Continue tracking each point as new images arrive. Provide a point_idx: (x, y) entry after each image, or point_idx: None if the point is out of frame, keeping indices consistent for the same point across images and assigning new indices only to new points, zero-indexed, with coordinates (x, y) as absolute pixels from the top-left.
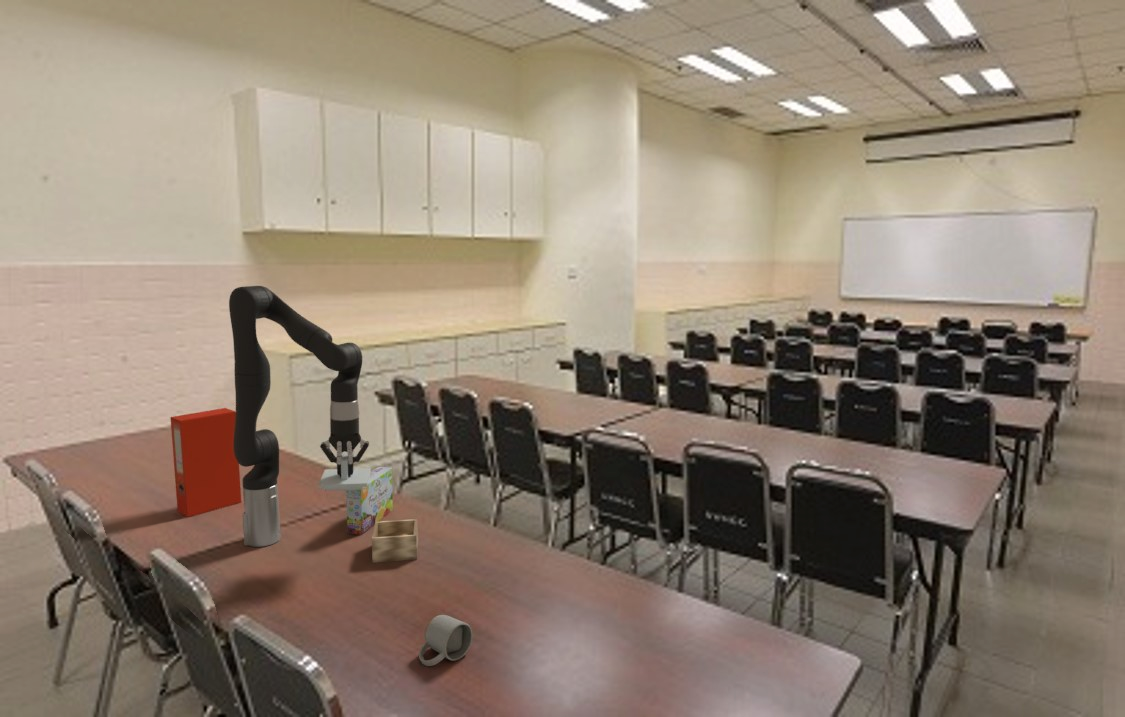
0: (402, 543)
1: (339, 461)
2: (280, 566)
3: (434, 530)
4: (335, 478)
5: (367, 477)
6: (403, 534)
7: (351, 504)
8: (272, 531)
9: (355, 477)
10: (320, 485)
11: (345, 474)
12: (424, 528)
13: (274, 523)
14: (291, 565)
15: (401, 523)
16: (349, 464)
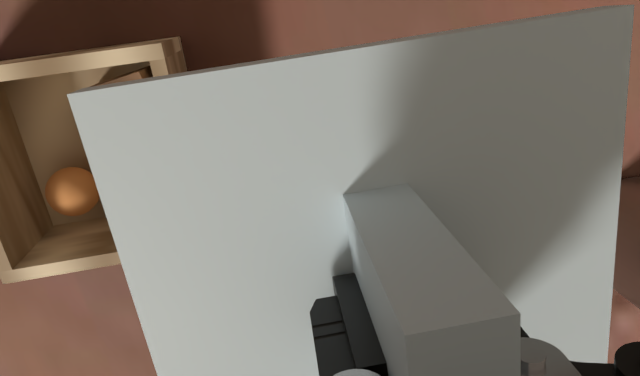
0: (14, 61)
1: (532, 372)
2: (535, 15)
3: (16, 330)
4: (477, 224)
5: (140, 283)
6: (72, 200)
7: None
8: (623, 218)
9: (273, 269)
10: (606, 9)
11: (375, 214)
12: (66, 344)
13: (637, 241)
14: (497, 22)
15: (83, 252)
16: (365, 370)
